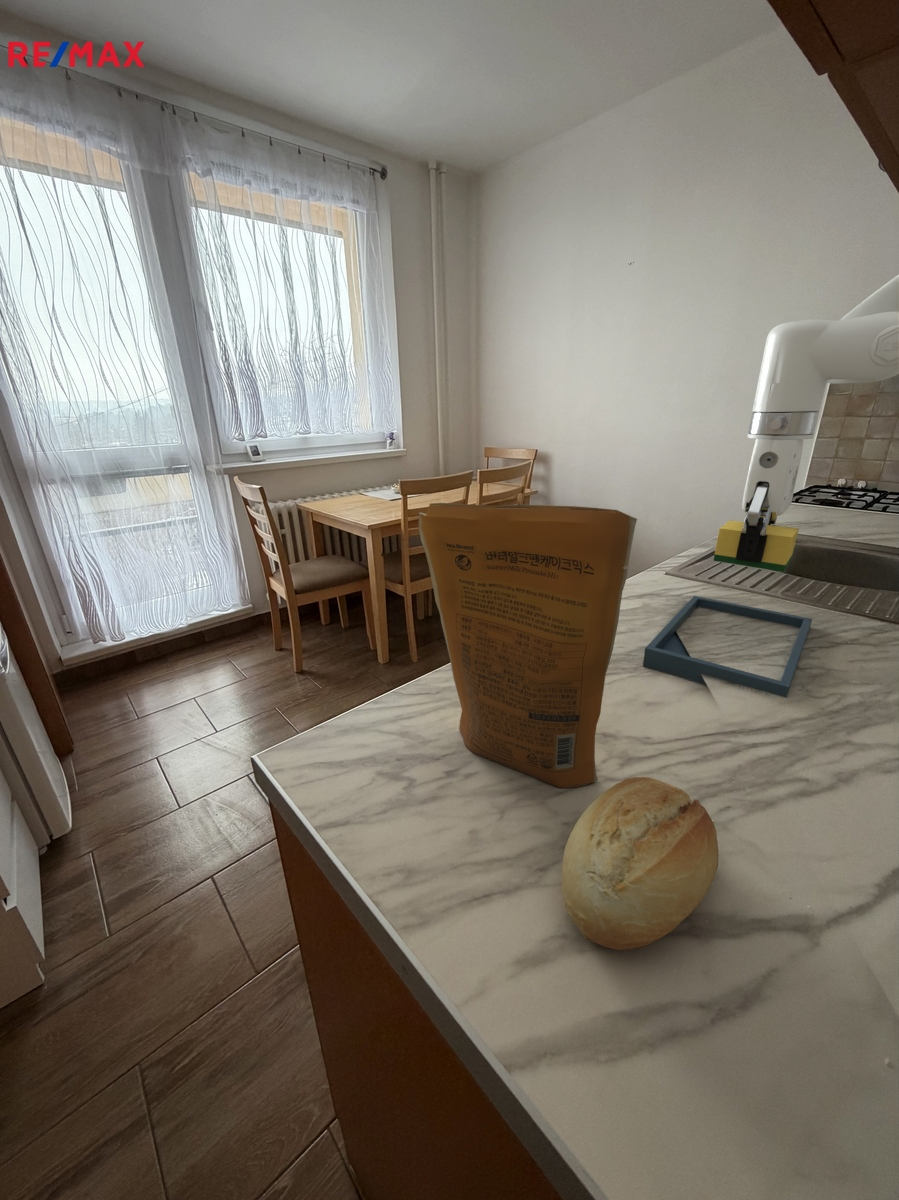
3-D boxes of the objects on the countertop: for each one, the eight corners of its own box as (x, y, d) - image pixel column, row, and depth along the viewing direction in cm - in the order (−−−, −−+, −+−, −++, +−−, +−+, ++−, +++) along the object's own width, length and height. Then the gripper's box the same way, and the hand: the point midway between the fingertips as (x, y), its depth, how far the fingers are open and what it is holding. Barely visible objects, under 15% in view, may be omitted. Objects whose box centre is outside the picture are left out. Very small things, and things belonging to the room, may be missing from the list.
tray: (691, 611, 86) (694, 595, 85) (807, 636, 75) (812, 618, 74) (642, 666, 69) (644, 647, 68) (783, 708, 59) (789, 687, 57)
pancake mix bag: (596, 818, 44) (626, 517, 34) (428, 747, 54) (411, 499, 44) (617, 773, 49) (648, 500, 39) (460, 716, 60) (451, 487, 49)
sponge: (723, 551, 77) (729, 520, 75) (790, 561, 71) (798, 528, 69) (713, 560, 73) (719, 528, 71) (784, 572, 67) (792, 537, 65)
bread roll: (734, 858, 40) (753, 783, 37) (658, 1010, 30) (676, 925, 27) (624, 798, 46) (633, 730, 43) (532, 909, 37) (535, 831, 34)
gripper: (807, 430, 56) (772, 576, 63) (822, 423, 68) (792, 546, 75) (735, 430, 61) (709, 565, 68) (761, 423, 73) (738, 538, 80)
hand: (753, 554), depth 71 cm, fingers closed on sponge, 6 cm apart
